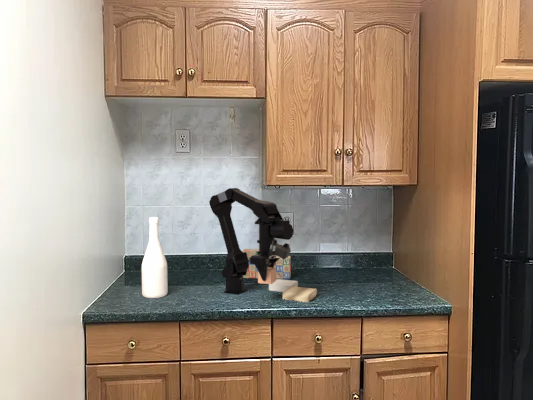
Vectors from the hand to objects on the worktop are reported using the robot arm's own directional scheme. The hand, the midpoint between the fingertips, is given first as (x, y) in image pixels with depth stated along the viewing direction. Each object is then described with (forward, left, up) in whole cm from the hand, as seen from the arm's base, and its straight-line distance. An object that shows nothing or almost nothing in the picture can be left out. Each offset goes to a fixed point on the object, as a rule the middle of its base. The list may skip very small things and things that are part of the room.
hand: (266, 279), depth 168 cm
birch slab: (+10, +8, -8) cm, 15 cm away
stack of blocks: (-14, +34, -8) cm, 38 cm away
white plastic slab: (0, +17, -8) cm, 19 cm away
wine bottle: (-42, -10, -8) cm, 44 cm away
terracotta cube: (0, 0, -1) cm, 1 cm away
